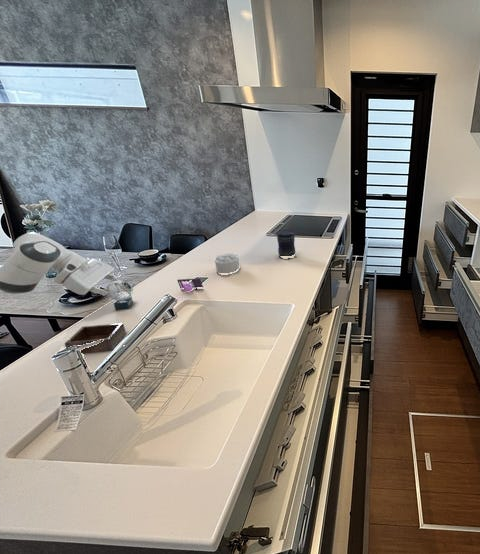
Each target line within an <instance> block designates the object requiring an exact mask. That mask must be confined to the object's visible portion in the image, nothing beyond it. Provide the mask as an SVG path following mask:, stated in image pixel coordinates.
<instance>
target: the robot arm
mask: <svg viewBox="0 0 480 554" xmlns="http://www.w3.org/2000/svg"><path fill="white" fill-rule="evenodd" d="M12 245H13V247H14V250H13V251H12V253H11V254H10V256H9V257H8V258H7V259H6V260H5V262H3V264H0V291H1V292H4V293H6V294H13V295H17V294H19V295H20V294H26V293H29V292H32V291H35V289H36V287H37V285H38V284H39V283H40V281H41V280H42V278H44V276H45V275H46V274H47V273H48V272H49V270H50V269H51V270H52V271H53V272H55V273H56V276H55V277H54V279H53V282H54V283H56V284H57V285H62V286H63V287H64V288H66V289H67V290H69V291H70V292H73V293H75V294H77V295H81V296H85V295H86V294H88V293H89V292H91V293H93V294H100V295H101V296H104V297H105V296H107V295H108V294H107V293H108V292H109V291H108V290H106V288H99V287H98V284H100V283H101V282H103V281H104V280H105V279H107V280H110V282H113V281H118V280H119V279H118V278H117V277H116V276H115V275H114V274H113V272H114V270H115V268H114V267H113V266H112V265H110V264H108V263H106V262H104V261H102V260H101V259H98V258H97V259H96V258H89V257H88V258H86V257H83V256H82V255H80V254H78V253H77V252H75V251H72V250H70V249H67V248H66V247H65V246H64V245H63V244H61V243H59V242H57V241H55V240H54V239H51V238H50V237H48V236H46V235H43V234H40V233H38V232H35V231H34V232H33V231H31V232H27V233H24V234H22V235H20V236H18V237H17V238H16V239H15V240H14V242H13V244H12ZM114 286H118V285H117V284H116V283H115V284H114Z"/></svg>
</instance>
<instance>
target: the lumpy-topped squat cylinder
mask: <svg viewBox="0 0 480 554" xmlns="http://www.w3.org/2000/svg"><path fill="white" fill-rule="evenodd" d="M214 263H215V269H216V274H217V275H218V276H219V277H222V276H224V278H226V277H231V276H230V275H232V274H233V275H232V276H235V275H237V274H239V272H240V270H241V265H240V258H239V255H238V254H234V253H223V254H221V255H220V254H219V255H217V256H216V257H215V259H214ZM239 266H240V268H239ZM238 268H239V270H238V271H237V272H235V273H232V274H228V275H221V274H218V273H217V272H219V273H230V272H234V271H236V270H237V269H238ZM225 276H226V277H225Z"/></svg>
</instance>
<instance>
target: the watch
mask: <svg viewBox="0 0 480 554" xmlns="http://www.w3.org/2000/svg"><path fill="white" fill-rule="evenodd" d="M115 283H116V284H117V285H116V286H118V287H119V288H120V289H121V290H122V291H123V292H124V293H127V294H128V295H126V296H117V295H116V294H115V293H114V292H113V291H112V290H111V289H110V286H112V285H115ZM105 289H106V290H108V291H109V292H108V293H107V294H106V295H108V296H109V298H111V299H112V300H114V302H113V306H114V309H115V311H121V310H130V308H131V307H132V305H133V304H134V301H133V298H132V294H133V293H134V291H133V290H134V288H133V286H132V285H131V284H130V283H129V281H126V280H121V279H118V281H113V282H112V281H110V283H109V284H107V287H106V288H105Z"/></svg>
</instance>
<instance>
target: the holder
mask: <svg viewBox="0 0 480 554" xmlns="http://www.w3.org/2000/svg"><path fill="white" fill-rule="evenodd" d="M126 335H127V331H126V328H125V325H124V323H123V322H119V323H109V324H97V325H86V326H81V328H79V329H78V330H77V331H76V332H75V333H74V334H73V335H72V336H71V337H70V338H69V339H68V340H67V341H65V343H64V346H65V348H66V349H67V348H68V347H70V346H73V345H83V344H86V343H91V342H93V341H97V340H100V339H104V341H103V342H101V343H99V344H97V345H94V346H91V347H89V348H85V349H83V350H81V353H82V354H90V353H92V354H93V353H101V352H110V351H114V350H115V348H116V347H117V346H118V345H119V344H120V342H121V341H122V340H123V339H124V338H125V336H126ZM113 349H114V350H113Z"/></svg>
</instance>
